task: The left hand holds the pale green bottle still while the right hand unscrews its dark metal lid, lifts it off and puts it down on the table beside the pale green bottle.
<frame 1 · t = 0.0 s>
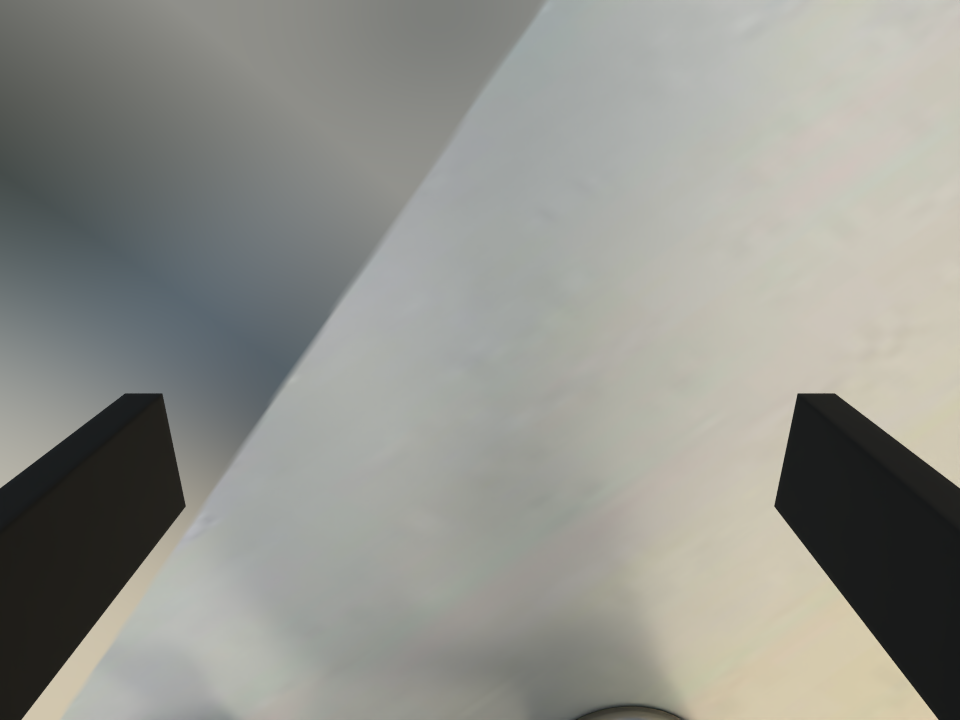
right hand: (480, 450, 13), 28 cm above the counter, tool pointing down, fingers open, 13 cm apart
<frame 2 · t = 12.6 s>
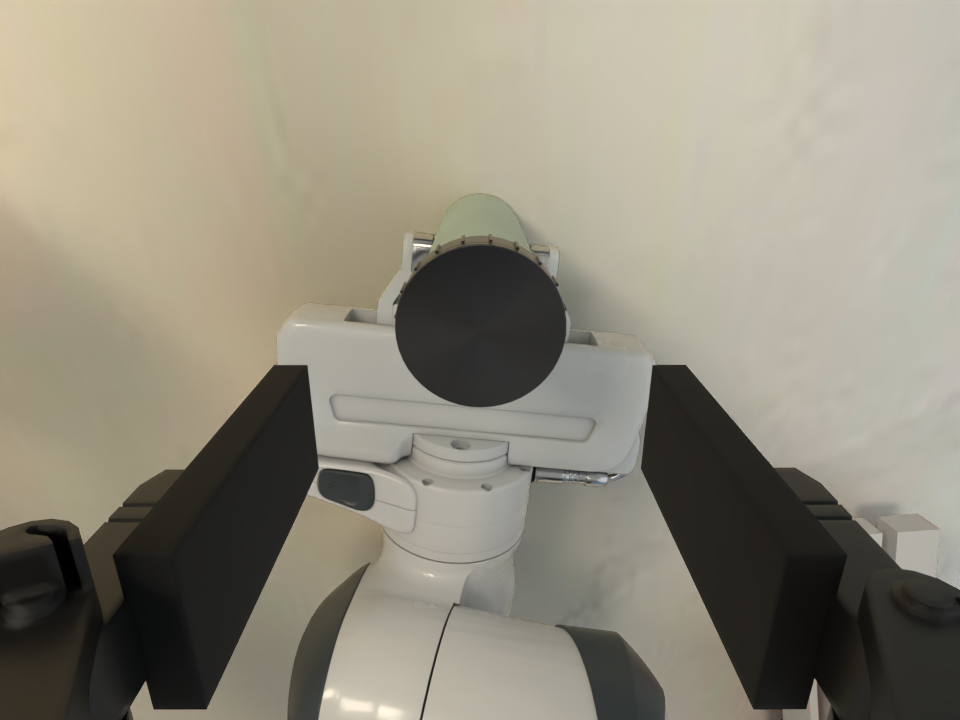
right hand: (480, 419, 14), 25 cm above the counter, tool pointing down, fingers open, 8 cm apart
left hand: (481, 240, 31), fingers closed on pale green bottle, 5 cm apart
toy: (819, 646, 50), on the counter
pale green bottle: (480, 235, 38), on the counter, touching left hand
lid: (480, 326, 21), point 18 cm above the counter, screwed on, not yet turned
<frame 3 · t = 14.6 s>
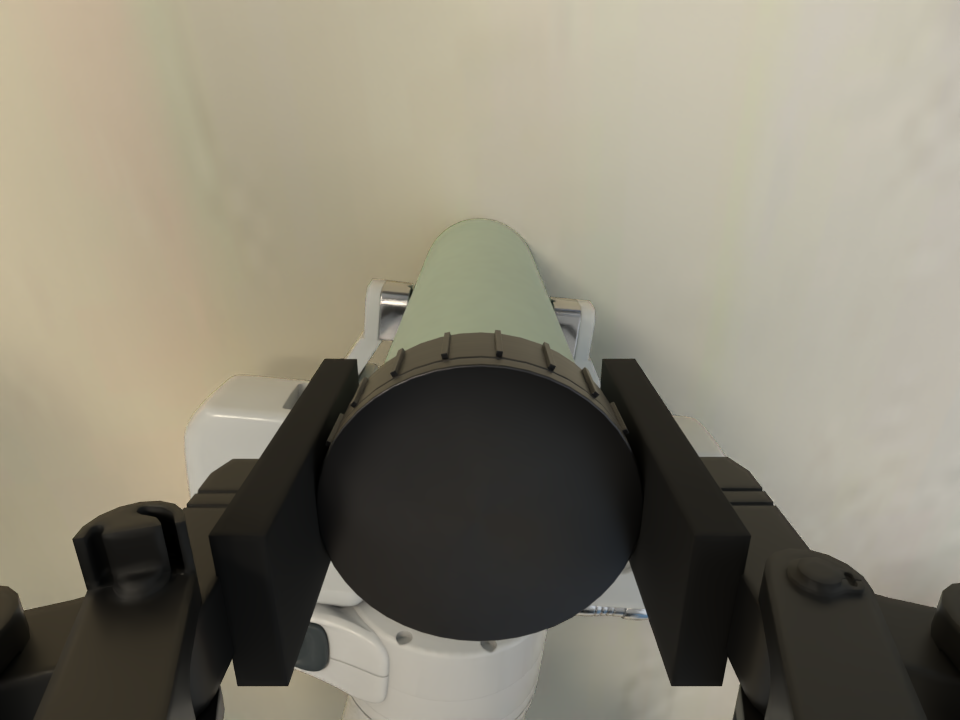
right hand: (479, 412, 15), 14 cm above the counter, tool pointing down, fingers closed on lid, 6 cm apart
pale green bottle: (479, 274, 28), on the counter, touching left hand
lid: (479, 505, 11), point 18 cm above the counter, screwed on, not yet turned, touching right hand
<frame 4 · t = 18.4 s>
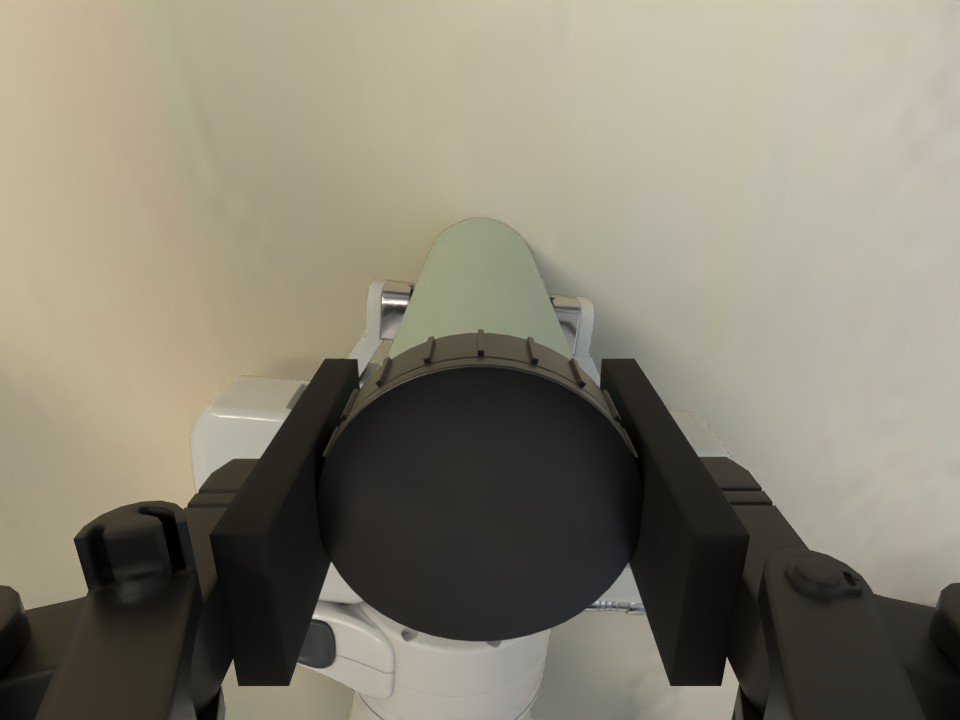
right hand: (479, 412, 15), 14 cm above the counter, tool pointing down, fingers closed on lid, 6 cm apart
pale green bottle: (480, 273, 28), on the counter, touching left hand
lid: (480, 505, 11), point 18 cm above the counter, turned 131° so far, risen 0.2 cm, still on its thread, touching right hand
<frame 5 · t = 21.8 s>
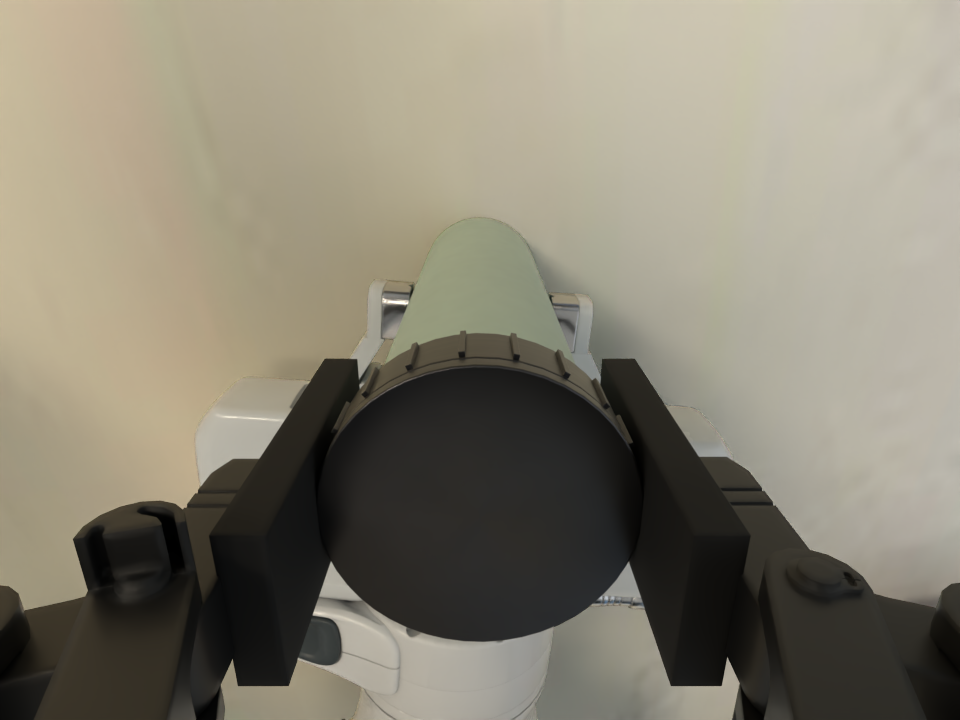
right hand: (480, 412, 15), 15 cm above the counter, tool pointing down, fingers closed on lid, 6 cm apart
pale green bottle: (479, 272, 28), on the counter, touching left hand
lid: (479, 505, 11), point 19 cm above the counter, turned 263° so far, risen 0.4 cm, still on its thread, touching right hand
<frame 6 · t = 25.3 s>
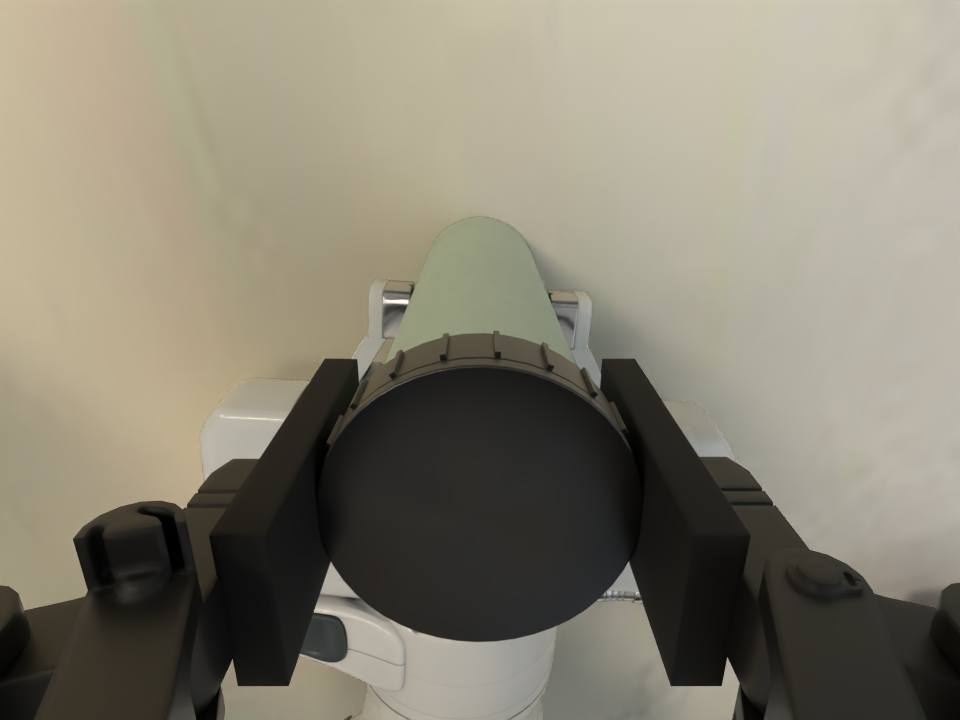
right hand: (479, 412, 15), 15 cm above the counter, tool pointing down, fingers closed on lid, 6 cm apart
pale green bottle: (479, 271, 28), on the counter, touching left hand
lid: (479, 506, 11), point 19 cm above the counter, turned 394° so far, risen 0.7 cm, still on its thread, touching right hand
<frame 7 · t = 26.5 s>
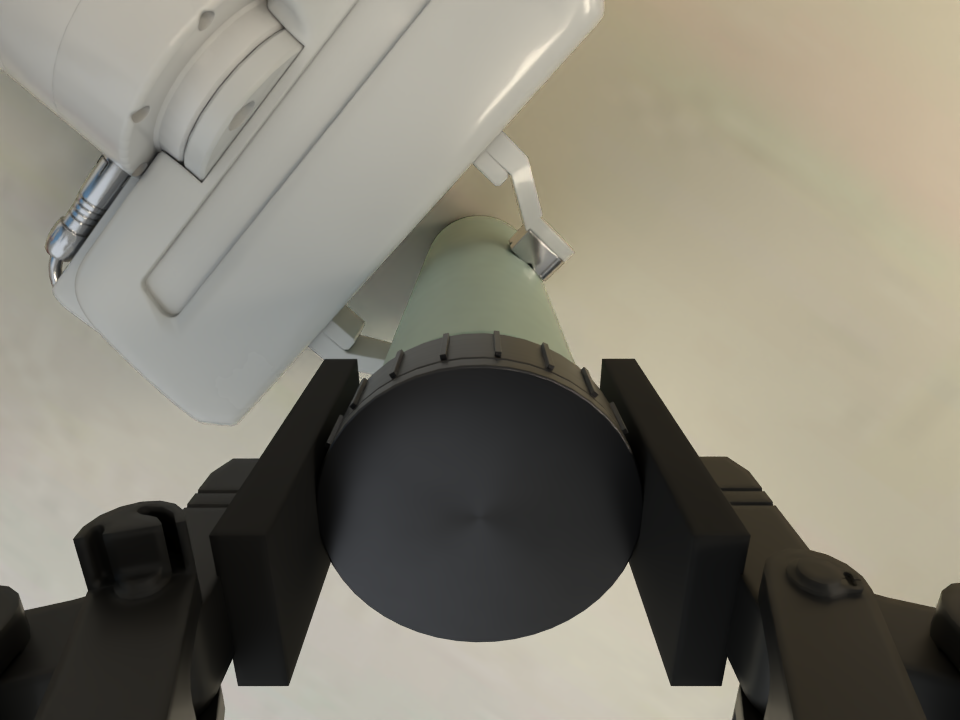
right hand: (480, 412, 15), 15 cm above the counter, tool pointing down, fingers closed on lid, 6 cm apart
left hand: (497, 325, 23), fingers closed on pale green bottle, 5 cm apart
pale green bottle: (479, 270, 29), on the counter, touching left hand
lid: (479, 506, 11), point 19 cm above the counter, off its thread, touching right hand
when the right hand's fingers open (0 cm above the counter, at t = 33.1 s): lid drops 3 cm, point 1 cm above the counter.
when the left hand's fingers open (7 cm above the counter, at t = 33.8 s): pale green bottle stays where it is, on the counter.
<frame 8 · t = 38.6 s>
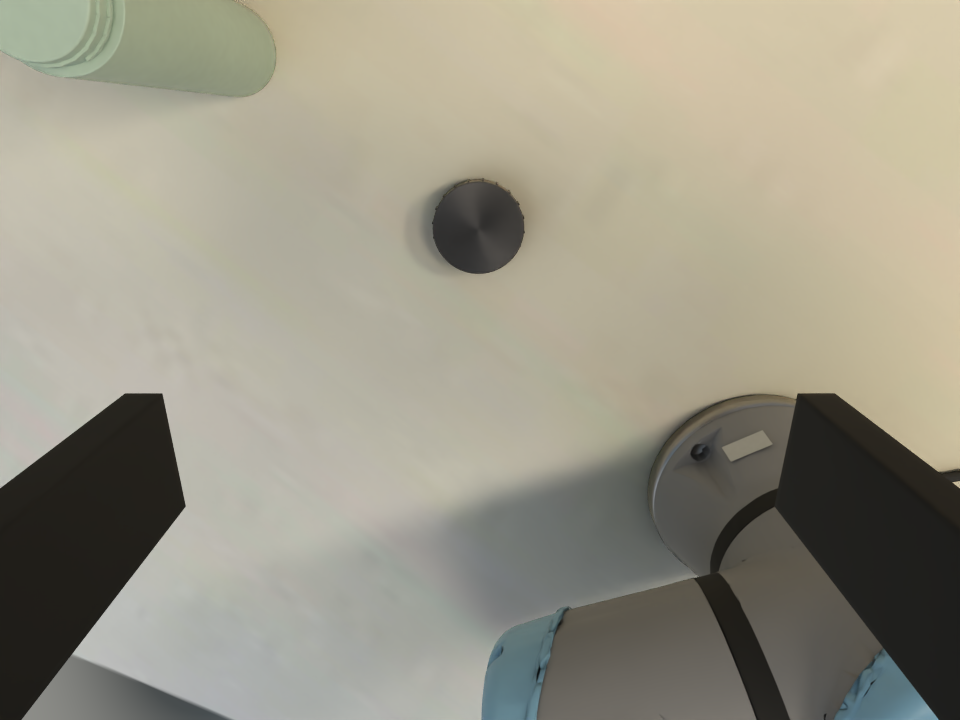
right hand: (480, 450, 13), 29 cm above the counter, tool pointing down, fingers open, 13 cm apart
pale green bottle: (233, 50, 36), on the counter
lid: (478, 228, 39), point 1 cm above the counter, off its thread
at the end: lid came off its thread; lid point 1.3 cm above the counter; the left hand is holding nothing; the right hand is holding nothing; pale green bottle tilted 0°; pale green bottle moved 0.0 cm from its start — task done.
